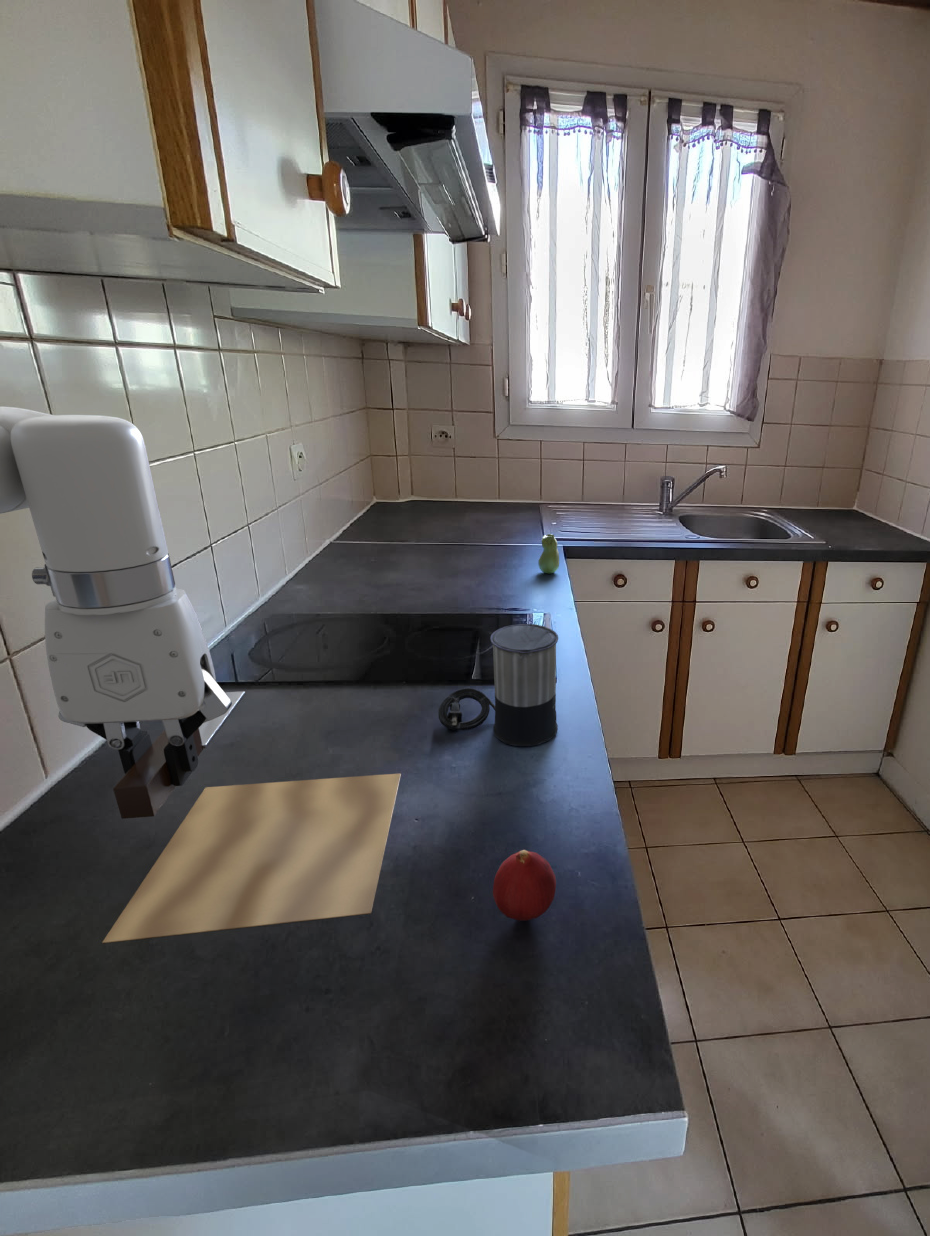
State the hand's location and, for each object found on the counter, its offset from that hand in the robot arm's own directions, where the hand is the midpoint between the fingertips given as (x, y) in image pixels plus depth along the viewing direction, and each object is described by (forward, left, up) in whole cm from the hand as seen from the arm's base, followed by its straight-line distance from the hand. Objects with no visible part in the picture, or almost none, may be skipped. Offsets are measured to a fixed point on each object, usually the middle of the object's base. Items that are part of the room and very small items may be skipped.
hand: (164, 776), depth 57 cm
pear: (+43, +101, -14) cm, 111 cm away
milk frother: (+29, +28, -14) cm, 43 cm away
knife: (0, +5, 0) cm, 6 cm away
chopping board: (+6, +5, -14) cm, 16 cm away
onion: (+31, -7, -14) cm, 35 cm away
